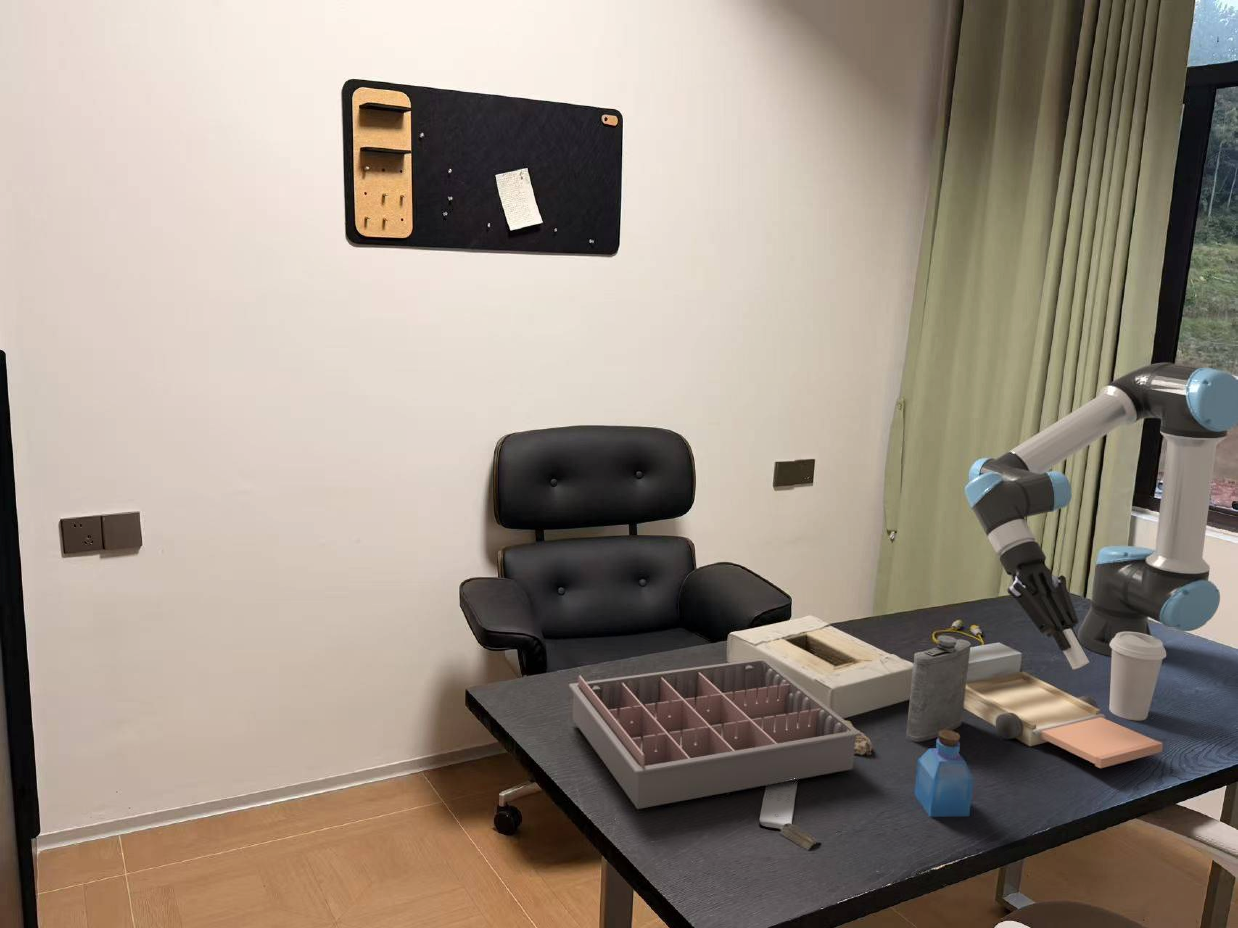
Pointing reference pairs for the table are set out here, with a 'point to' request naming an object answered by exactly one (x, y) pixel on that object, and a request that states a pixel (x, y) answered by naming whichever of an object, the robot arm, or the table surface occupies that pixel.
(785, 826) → the block
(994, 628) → the table surface
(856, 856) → the table surface
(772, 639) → the box
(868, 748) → the mineral rock
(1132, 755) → the tailgate
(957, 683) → the flask
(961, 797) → the perfume bottle
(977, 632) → the extension cord
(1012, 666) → the truck bed
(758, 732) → the organizer tray
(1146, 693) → the coffee cup
